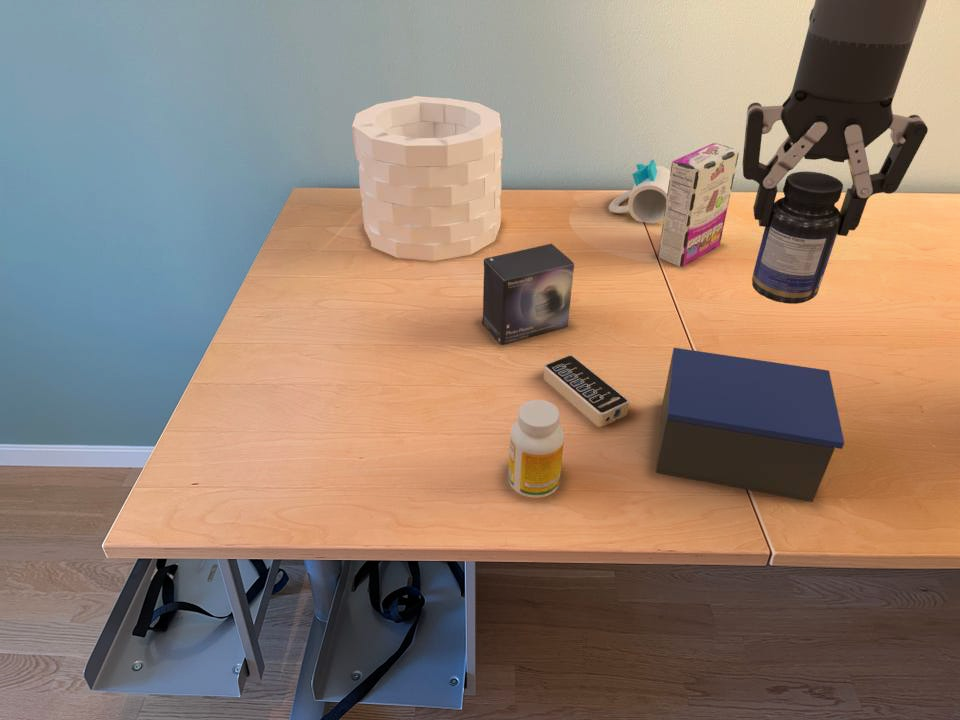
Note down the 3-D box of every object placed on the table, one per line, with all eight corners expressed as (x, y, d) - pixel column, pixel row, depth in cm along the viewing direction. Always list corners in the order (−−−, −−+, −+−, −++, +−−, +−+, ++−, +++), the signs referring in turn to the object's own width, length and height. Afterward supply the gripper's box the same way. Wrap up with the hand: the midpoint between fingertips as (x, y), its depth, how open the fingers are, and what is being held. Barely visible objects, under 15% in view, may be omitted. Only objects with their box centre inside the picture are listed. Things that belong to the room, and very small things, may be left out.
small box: (501, 349, 92) (503, 280, 86) (480, 324, 97) (480, 257, 91) (570, 329, 96) (576, 262, 90) (546, 306, 101) (551, 241, 94)
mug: (669, 145, 125) (661, 169, 116) (681, 192, 129) (675, 219, 120) (606, 163, 130) (594, 188, 121) (620, 208, 134) (609, 234, 125)
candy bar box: (694, 237, 118) (713, 141, 108) (720, 247, 115) (742, 149, 105) (654, 258, 112) (670, 159, 102) (680, 270, 109) (700, 168, 99)
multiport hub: (569, 368, 89) (571, 353, 87) (628, 416, 81) (631, 401, 80) (541, 379, 87) (542, 365, 86) (599, 430, 80) (601, 415, 78)
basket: (488, 268, 110) (489, 150, 98) (343, 255, 113) (328, 140, 102) (511, 203, 129) (514, 98, 118) (387, 194, 133) (378, 91, 121)
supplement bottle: (498, 480, 73) (499, 411, 68) (533, 455, 76) (537, 387, 71) (535, 509, 70) (539, 439, 64) (570, 482, 73) (577, 413, 67)
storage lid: (827, 376, 75) (829, 370, 74) (842, 449, 66) (844, 443, 65) (672, 353, 78) (673, 347, 78) (666, 419, 69) (668, 413, 69)
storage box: (801, 429, 80) (820, 375, 75) (811, 504, 71) (835, 448, 66) (661, 406, 83) (672, 353, 78) (655, 475, 74) (666, 420, 69)
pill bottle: (775, 267, 71) (804, 162, 65) (829, 292, 67) (867, 183, 61) (736, 286, 68) (763, 178, 62) (791, 313, 64) (826, 201, 58)
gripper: (765, 33, 52) (719, 236, 62) (979, 45, 49) (895, 256, 59) (760, 14, 58) (719, 202, 68) (952, 23, 55) (879, 219, 65)
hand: (801, 227), depth 64 cm, fingers closed on pill bottle, 6 cm apart
